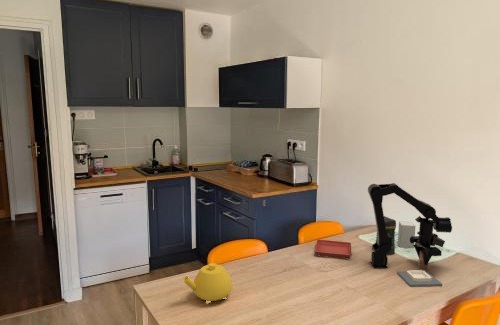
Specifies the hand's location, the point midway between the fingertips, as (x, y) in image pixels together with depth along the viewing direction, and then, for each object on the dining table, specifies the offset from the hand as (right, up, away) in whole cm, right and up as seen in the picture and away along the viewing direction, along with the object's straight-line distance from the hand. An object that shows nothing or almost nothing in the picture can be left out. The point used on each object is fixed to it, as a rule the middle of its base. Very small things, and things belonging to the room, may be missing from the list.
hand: (423, 263), depth 180 cm
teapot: (-99, -7, -27) cm, 103 cm away
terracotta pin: (0, -3, 0) cm, 2 cm away
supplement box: (+4, +2, +29) cm, 30 cm away
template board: (-7, -4, -11) cm, 14 cm away
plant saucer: (-38, 0, +20) cm, 43 cm away
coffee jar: (-11, 0, +21) cm, 23 cm away
